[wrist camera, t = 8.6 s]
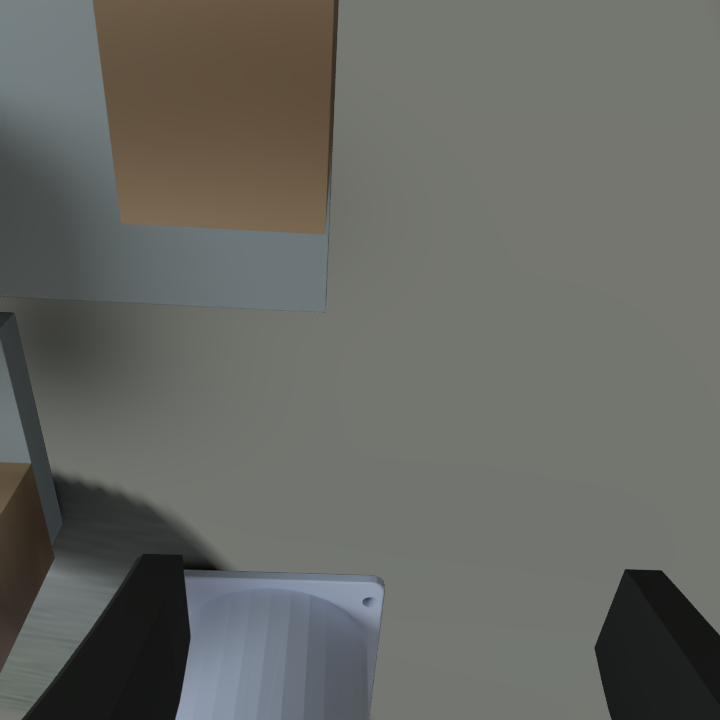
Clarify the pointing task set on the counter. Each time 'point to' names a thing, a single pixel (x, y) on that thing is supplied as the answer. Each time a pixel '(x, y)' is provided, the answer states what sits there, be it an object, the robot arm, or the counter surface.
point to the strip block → (167, 151)
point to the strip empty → (21, 492)
